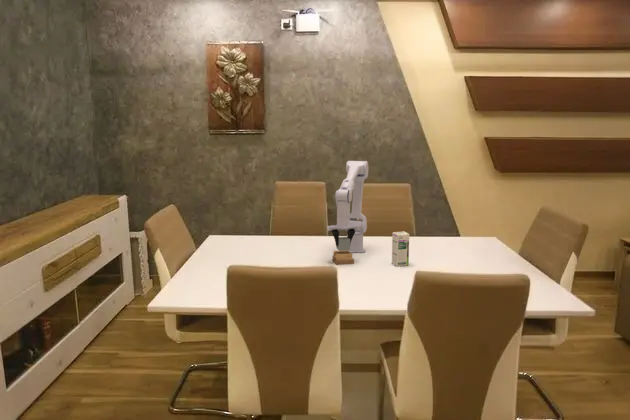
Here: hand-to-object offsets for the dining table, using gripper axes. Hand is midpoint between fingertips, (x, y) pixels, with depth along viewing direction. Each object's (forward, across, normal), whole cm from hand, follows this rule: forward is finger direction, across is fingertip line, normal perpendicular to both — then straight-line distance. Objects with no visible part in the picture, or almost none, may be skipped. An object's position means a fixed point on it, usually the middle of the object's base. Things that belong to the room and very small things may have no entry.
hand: (342, 245), depth 244 cm
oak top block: (+6, 0, 0) cm, 6 cm away
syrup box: (+8, +24, -9) cm, 27 cm away
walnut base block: (+8, 0, 0) cm, 8 cm away
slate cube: (+2, 0, 0) cm, 2 cm away
